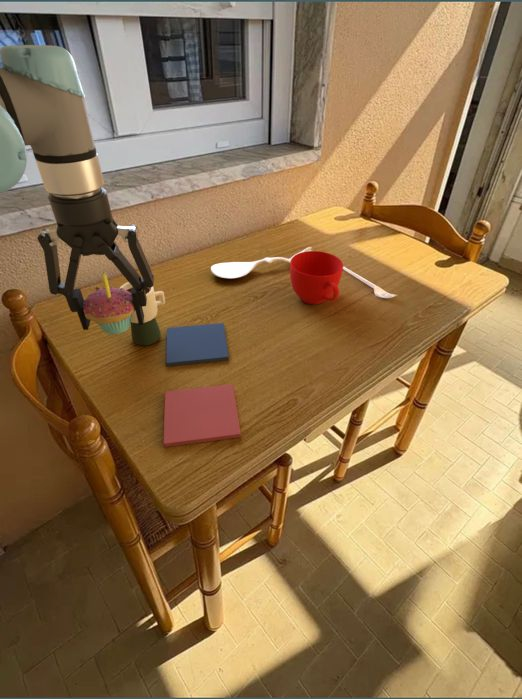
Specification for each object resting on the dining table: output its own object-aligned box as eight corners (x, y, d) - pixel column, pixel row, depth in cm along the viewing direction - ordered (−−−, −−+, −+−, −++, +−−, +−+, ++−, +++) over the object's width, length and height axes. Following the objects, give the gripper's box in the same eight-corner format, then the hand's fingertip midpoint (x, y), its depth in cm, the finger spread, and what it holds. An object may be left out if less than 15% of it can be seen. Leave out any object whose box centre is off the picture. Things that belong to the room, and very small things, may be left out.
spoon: (322, 269, 111) (324, 258, 109) (215, 286, 103) (214, 274, 101) (310, 255, 117) (311, 245, 115) (208, 270, 109) (207, 259, 107)
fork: (346, 267, 112) (347, 262, 110) (397, 300, 99) (399, 294, 98) (337, 270, 110) (338, 264, 109) (388, 304, 98) (390, 297, 96)
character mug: (166, 323, 90) (157, 275, 82) (175, 341, 85) (166, 291, 77) (119, 335, 86) (105, 286, 78) (125, 354, 82) (110, 304, 73)
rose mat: (164, 447, 64) (163, 443, 63) (165, 394, 73) (165, 391, 72) (240, 437, 66) (240, 433, 65) (233, 387, 75) (232, 383, 74)
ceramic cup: (308, 325, 90) (313, 289, 84) (279, 289, 102) (281, 255, 96) (355, 314, 94) (363, 278, 88) (322, 280, 106) (326, 247, 99)
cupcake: (149, 329, 67) (135, 267, 59) (102, 348, 63) (81, 285, 55) (127, 307, 72) (112, 248, 64) (82, 324, 68) (61, 263, 60)
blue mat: (166, 366, 79) (165, 363, 78) (167, 331, 88) (167, 327, 87) (228, 360, 81) (228, 356, 80) (223, 326, 90) (223, 322, 89)
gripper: (157, 178, 56) (176, 306, 71) (1, 183, 53) (55, 315, 68) (155, 196, 51) (176, 330, 65) (-19, 202, 48) (44, 341, 62)
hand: (114, 322), depth 67 cm, fingers closed on cupcake, 8 cm apart
